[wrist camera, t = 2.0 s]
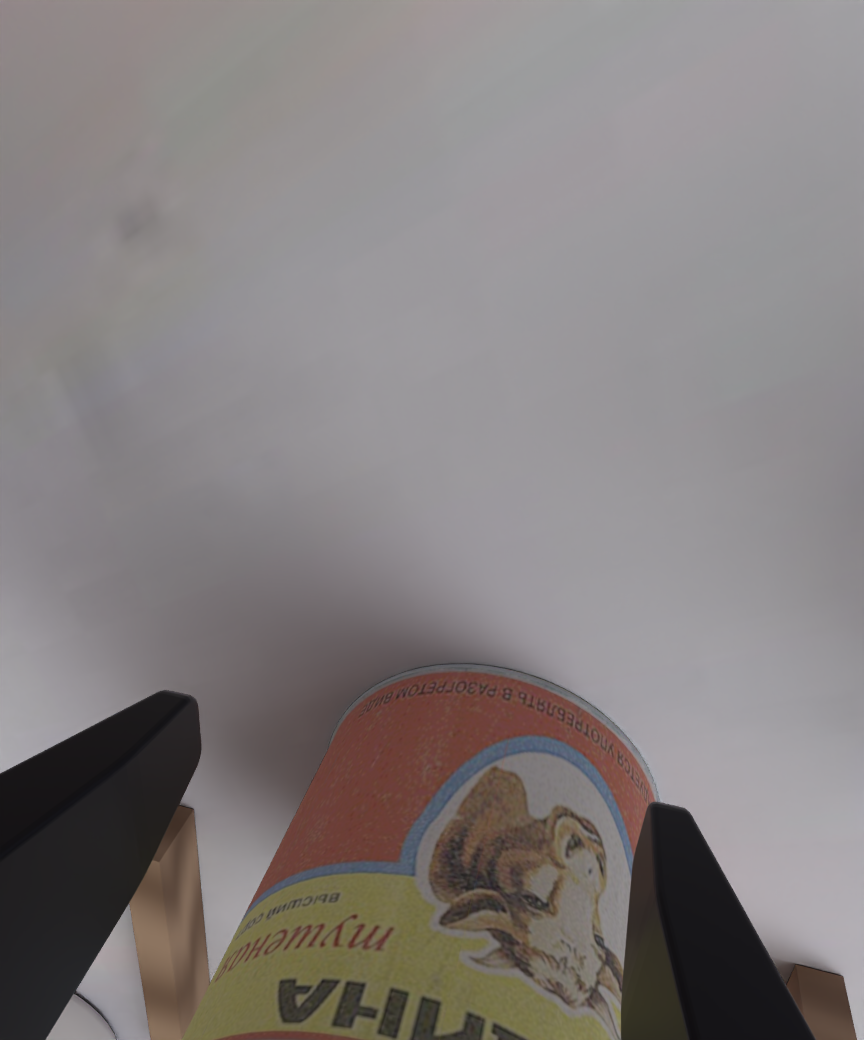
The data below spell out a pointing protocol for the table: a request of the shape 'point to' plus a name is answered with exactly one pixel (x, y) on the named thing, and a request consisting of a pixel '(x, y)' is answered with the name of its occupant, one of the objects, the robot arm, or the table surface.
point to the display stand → (184, 964)
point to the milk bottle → (80, 1023)
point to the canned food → (446, 873)
